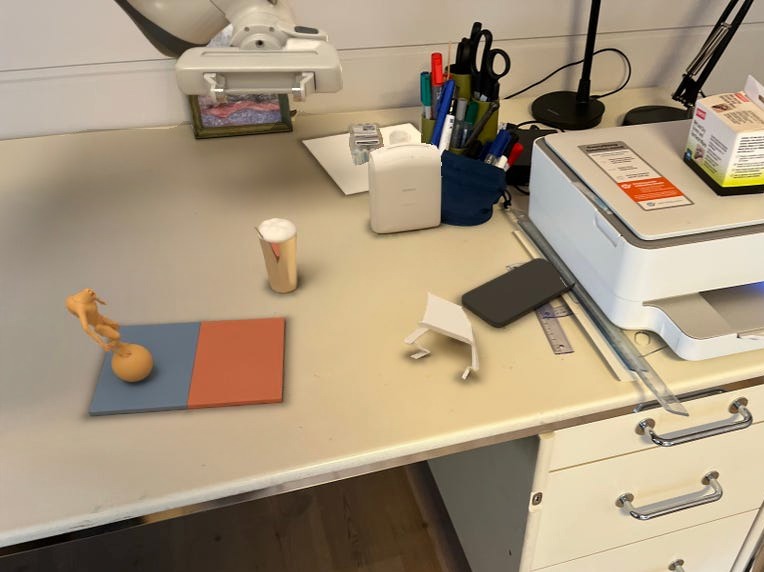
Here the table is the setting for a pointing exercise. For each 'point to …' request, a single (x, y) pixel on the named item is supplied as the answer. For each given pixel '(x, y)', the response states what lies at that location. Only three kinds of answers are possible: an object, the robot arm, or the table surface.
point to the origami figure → (445, 327)
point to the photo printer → (404, 187)
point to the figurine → (110, 337)
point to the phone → (515, 292)
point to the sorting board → (197, 367)
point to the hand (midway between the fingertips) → (258, 96)
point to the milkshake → (279, 253)
